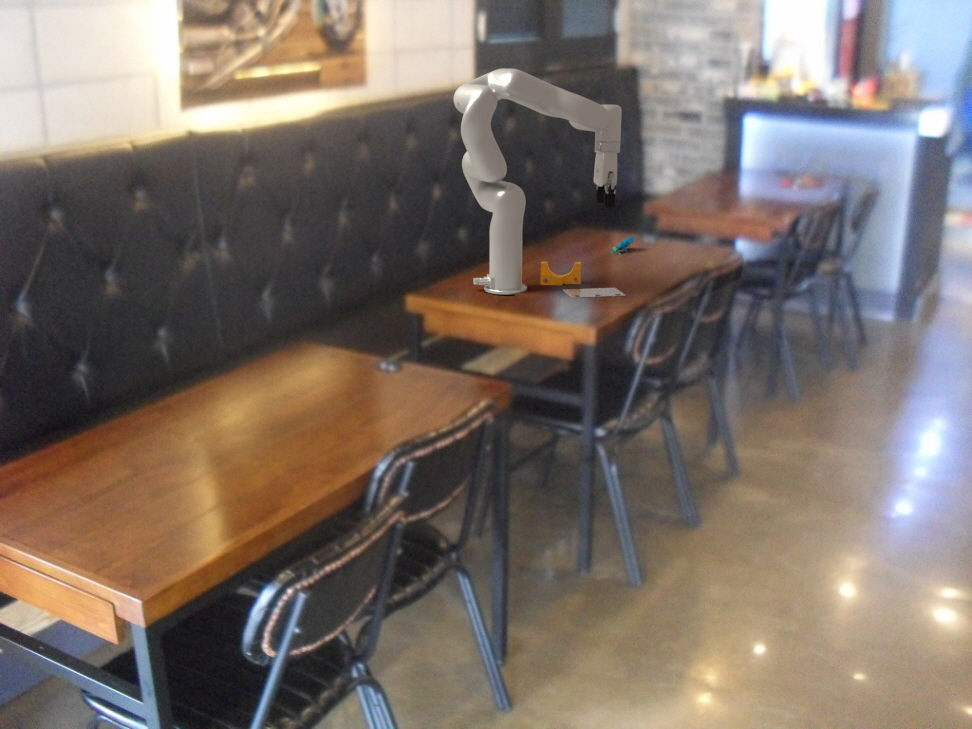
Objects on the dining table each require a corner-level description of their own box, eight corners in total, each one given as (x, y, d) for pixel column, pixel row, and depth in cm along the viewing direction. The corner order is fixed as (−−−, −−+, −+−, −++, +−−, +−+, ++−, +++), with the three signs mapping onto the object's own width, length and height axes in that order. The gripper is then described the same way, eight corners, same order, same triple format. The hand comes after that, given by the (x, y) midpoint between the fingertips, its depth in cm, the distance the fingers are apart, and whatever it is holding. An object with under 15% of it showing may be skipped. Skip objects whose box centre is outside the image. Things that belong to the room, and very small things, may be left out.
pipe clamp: (540, 285, 315) (540, 264, 313) (540, 282, 319) (541, 261, 317) (580, 286, 314) (581, 264, 312) (580, 283, 318) (581, 262, 316)
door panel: (571, 297, 298) (571, 296, 298) (562, 290, 308) (562, 289, 308) (625, 295, 301) (625, 294, 301) (614, 288, 311) (614, 287, 311)
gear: (618, 251, 362) (636, 232, 356) (628, 264, 361) (647, 246, 355) (601, 256, 354) (620, 237, 348) (612, 270, 352) (631, 250, 346)
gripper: (588, 144, 320) (586, 201, 325) (602, 149, 304) (600, 209, 309) (611, 144, 321) (609, 200, 326) (627, 149, 305) (625, 208, 310)
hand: (605, 204), depth 317 cm, fingers open, 9 cm apart
